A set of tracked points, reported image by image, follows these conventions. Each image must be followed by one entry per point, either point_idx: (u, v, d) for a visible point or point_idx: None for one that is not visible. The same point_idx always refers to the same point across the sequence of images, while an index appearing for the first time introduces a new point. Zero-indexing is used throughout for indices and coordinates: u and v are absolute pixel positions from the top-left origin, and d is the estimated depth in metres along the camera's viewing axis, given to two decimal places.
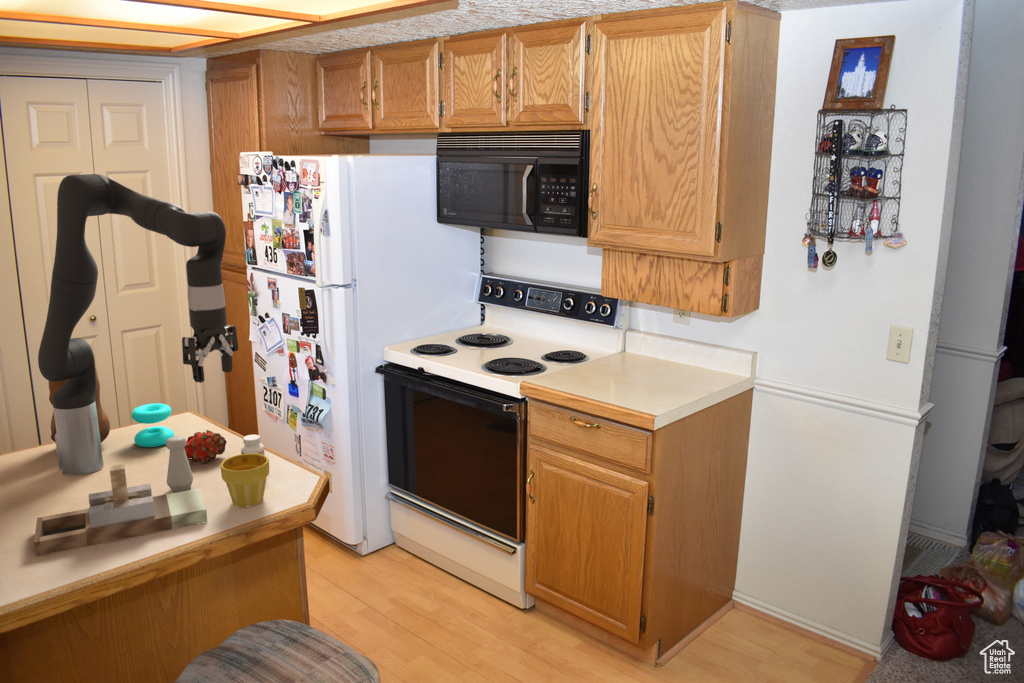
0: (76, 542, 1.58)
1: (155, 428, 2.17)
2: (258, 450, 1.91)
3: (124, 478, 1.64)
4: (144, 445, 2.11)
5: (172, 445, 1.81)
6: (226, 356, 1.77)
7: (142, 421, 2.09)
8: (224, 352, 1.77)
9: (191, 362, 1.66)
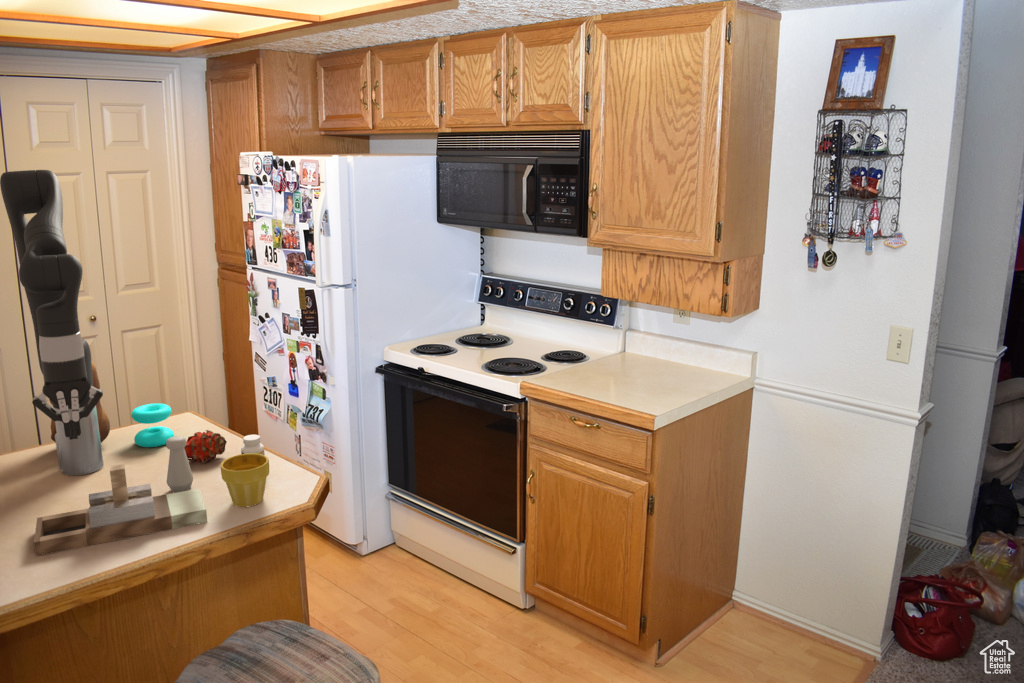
0: (76, 542, 1.58)
1: (155, 428, 2.17)
2: (258, 450, 1.91)
3: (124, 478, 1.64)
4: (144, 445, 2.11)
5: (172, 445, 1.81)
6: (70, 420, 1.59)
7: (142, 421, 2.09)
8: None
9: None
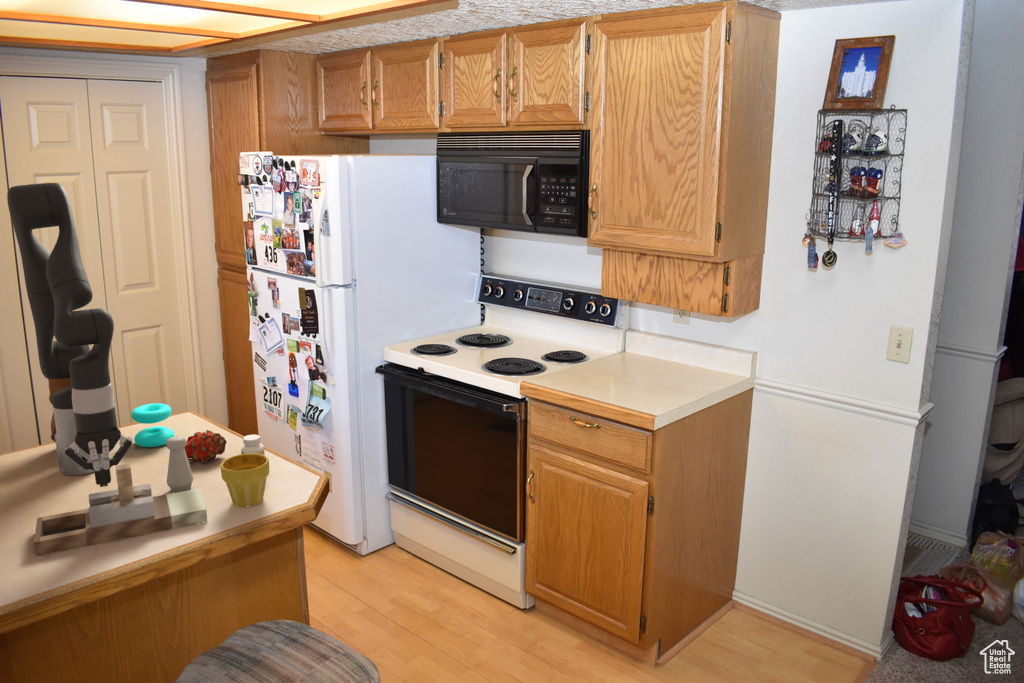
0: (76, 542, 1.58)
1: (155, 428, 2.17)
2: (258, 450, 1.91)
3: (130, 477, 1.65)
4: (144, 445, 2.11)
5: (172, 445, 1.81)
6: (101, 468, 1.63)
7: (142, 421, 2.09)
8: None
9: None
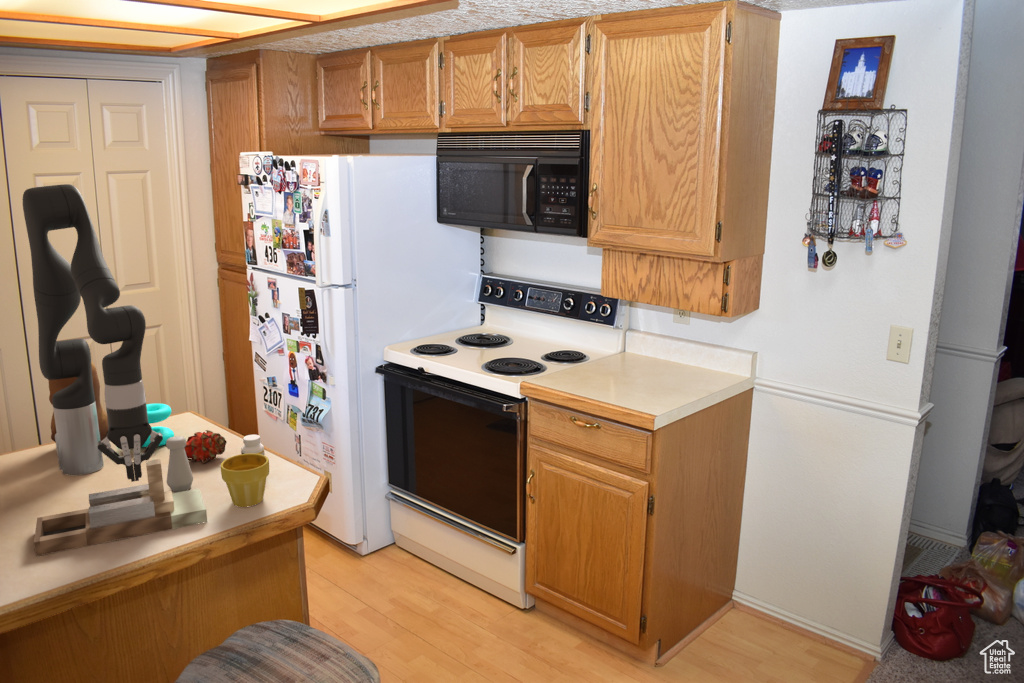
0: (76, 542, 1.58)
1: (155, 428, 2.17)
2: (258, 450, 1.91)
3: (160, 473, 1.67)
4: (144, 445, 2.11)
5: (172, 445, 1.81)
6: (132, 463, 1.66)
7: None
8: None
9: None
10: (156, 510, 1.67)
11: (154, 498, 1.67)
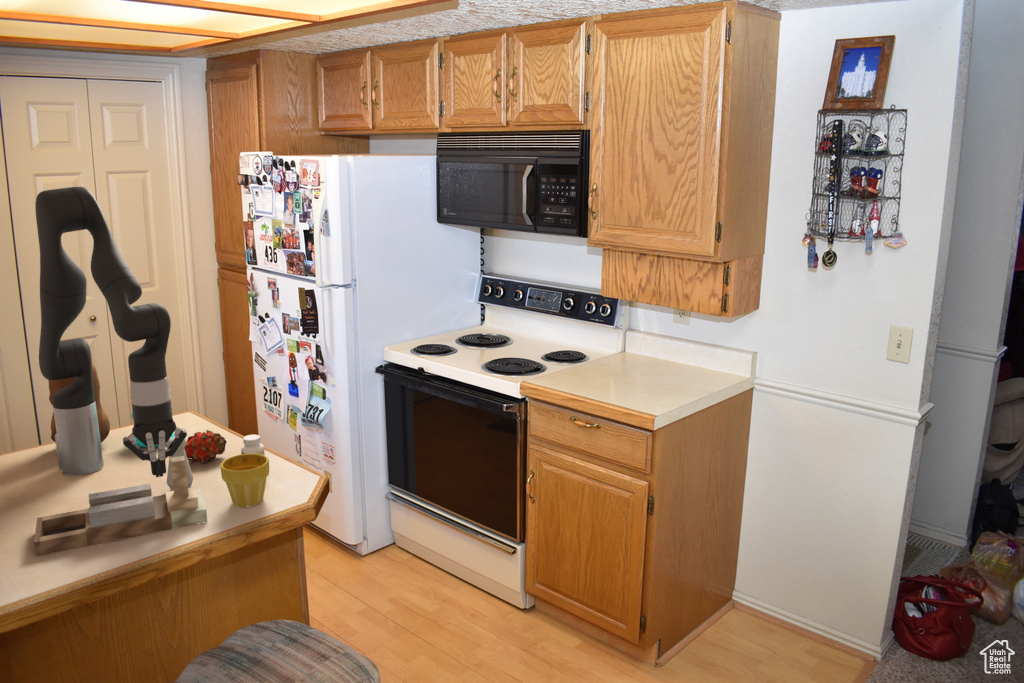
0: (76, 542, 1.58)
1: None
2: (258, 450, 1.91)
3: (184, 469, 1.69)
4: (144, 445, 2.11)
5: None
6: (156, 459, 1.68)
7: None
8: None
9: None
10: (180, 506, 1.68)
11: (178, 494, 1.69)
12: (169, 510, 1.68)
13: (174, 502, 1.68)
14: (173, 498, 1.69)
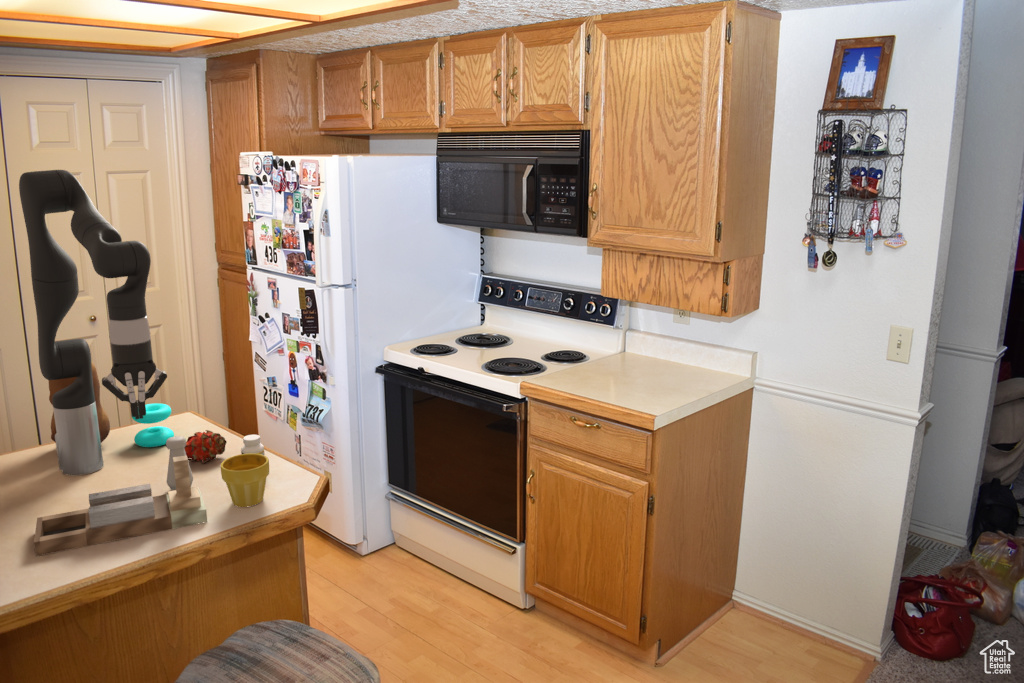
0: (76, 542, 1.58)
1: (155, 428, 2.17)
2: (258, 450, 1.91)
3: (187, 469, 1.69)
4: (144, 445, 2.11)
5: (172, 445, 1.81)
6: (136, 400, 1.65)
7: (142, 421, 2.09)
8: None
9: None
10: (183, 505, 1.69)
11: (181, 494, 1.70)
12: (172, 509, 1.68)
13: (177, 501, 1.68)
14: (176, 497, 1.69)
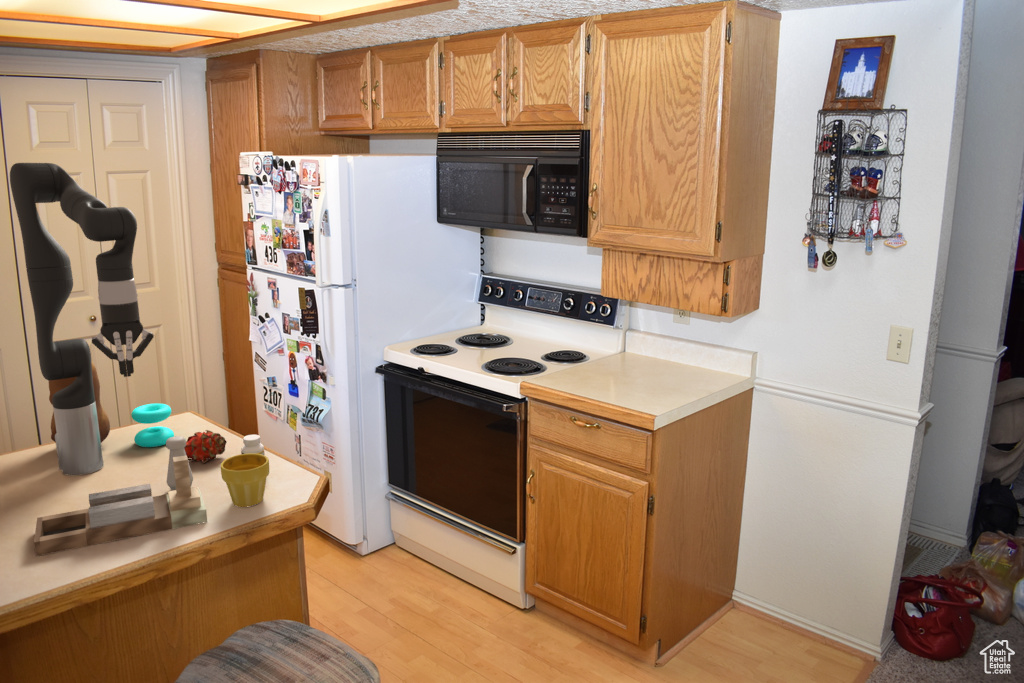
0: (76, 542, 1.58)
1: (155, 428, 2.17)
2: (258, 450, 1.91)
3: (187, 469, 1.69)
4: (144, 445, 2.11)
5: (172, 445, 1.81)
6: (124, 359, 1.75)
7: (142, 421, 2.09)
8: None
9: None
10: (183, 505, 1.69)
11: (181, 494, 1.70)
12: (172, 509, 1.68)
13: (177, 501, 1.68)
14: (176, 497, 1.69)
